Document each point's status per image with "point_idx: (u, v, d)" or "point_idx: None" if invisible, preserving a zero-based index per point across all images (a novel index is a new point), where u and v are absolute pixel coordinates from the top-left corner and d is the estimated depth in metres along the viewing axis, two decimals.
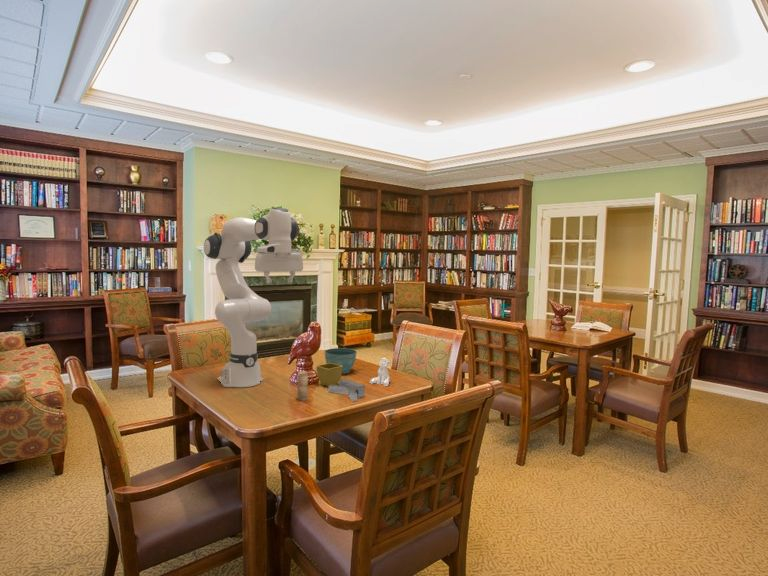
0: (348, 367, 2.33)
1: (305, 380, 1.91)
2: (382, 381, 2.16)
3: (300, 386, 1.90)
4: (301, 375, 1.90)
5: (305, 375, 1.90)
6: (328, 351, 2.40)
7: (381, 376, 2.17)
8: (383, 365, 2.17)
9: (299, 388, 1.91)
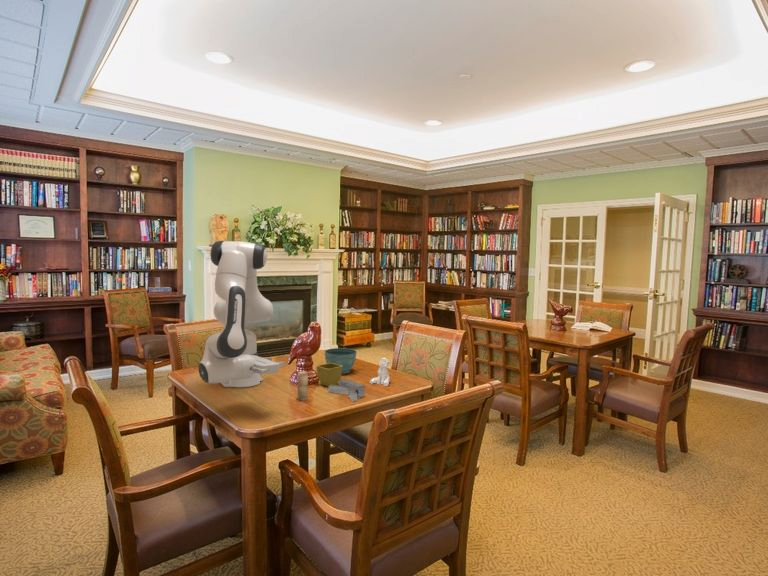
0: (348, 367, 2.33)
1: (305, 380, 1.91)
2: (382, 381, 2.16)
3: (300, 386, 1.90)
4: (301, 375, 1.90)
5: (305, 375, 1.90)
6: (328, 351, 2.40)
7: (381, 376, 2.17)
8: (383, 365, 2.17)
9: (299, 388, 1.91)
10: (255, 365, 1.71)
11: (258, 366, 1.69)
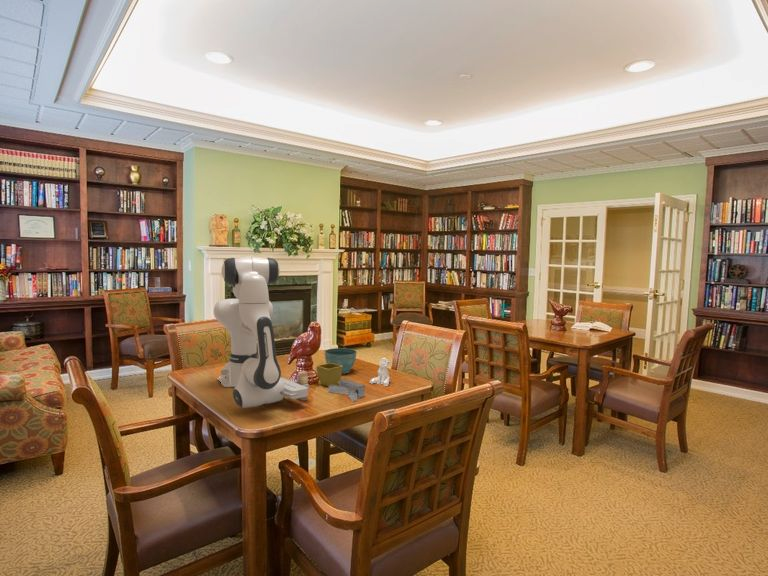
0: (348, 367, 2.33)
1: (305, 380, 1.91)
2: (382, 381, 2.16)
3: None
4: (301, 375, 1.90)
5: (305, 375, 1.90)
6: (328, 351, 2.40)
7: (381, 376, 2.17)
8: (383, 365, 2.17)
9: None
10: (285, 389, 1.81)
11: (288, 391, 1.79)
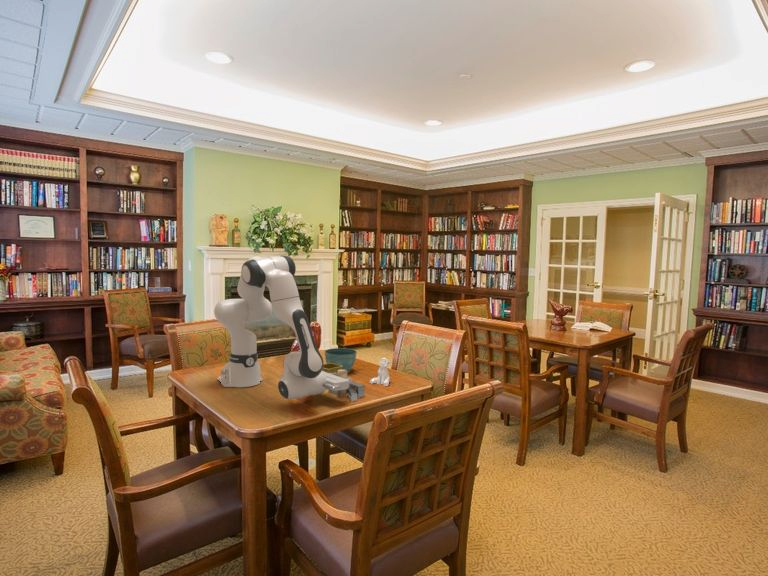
0: (348, 367, 2.33)
1: (345, 378, 1.96)
2: (382, 381, 2.16)
3: None
4: (341, 373, 1.95)
5: (345, 373, 1.95)
6: (328, 351, 2.40)
7: (381, 376, 2.17)
8: (383, 365, 2.17)
9: None
10: (327, 382, 1.86)
11: (331, 383, 1.84)
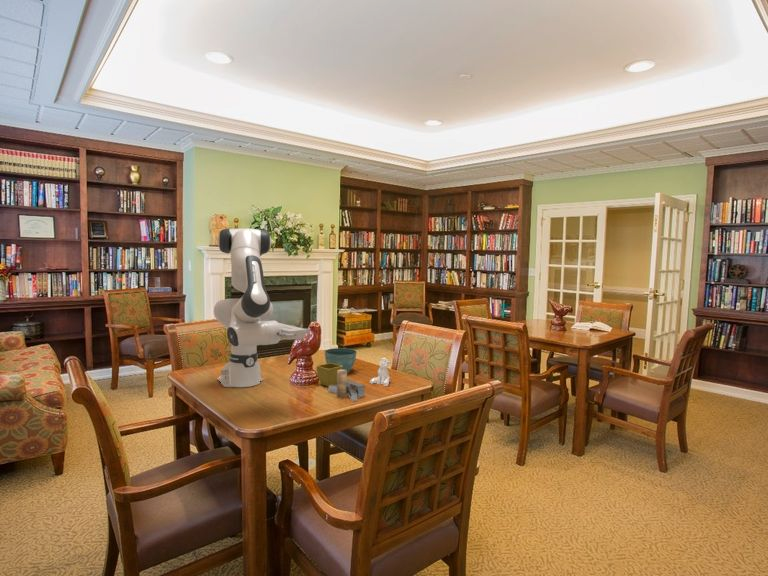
0: (348, 367, 2.33)
1: (345, 378, 1.96)
2: (382, 381, 2.16)
3: (340, 383, 1.95)
4: (341, 373, 1.95)
5: (345, 373, 1.95)
6: (328, 351, 2.40)
7: (381, 376, 2.17)
8: (383, 365, 2.17)
9: (339, 385, 1.96)
10: (282, 330, 1.73)
11: (285, 331, 1.72)
